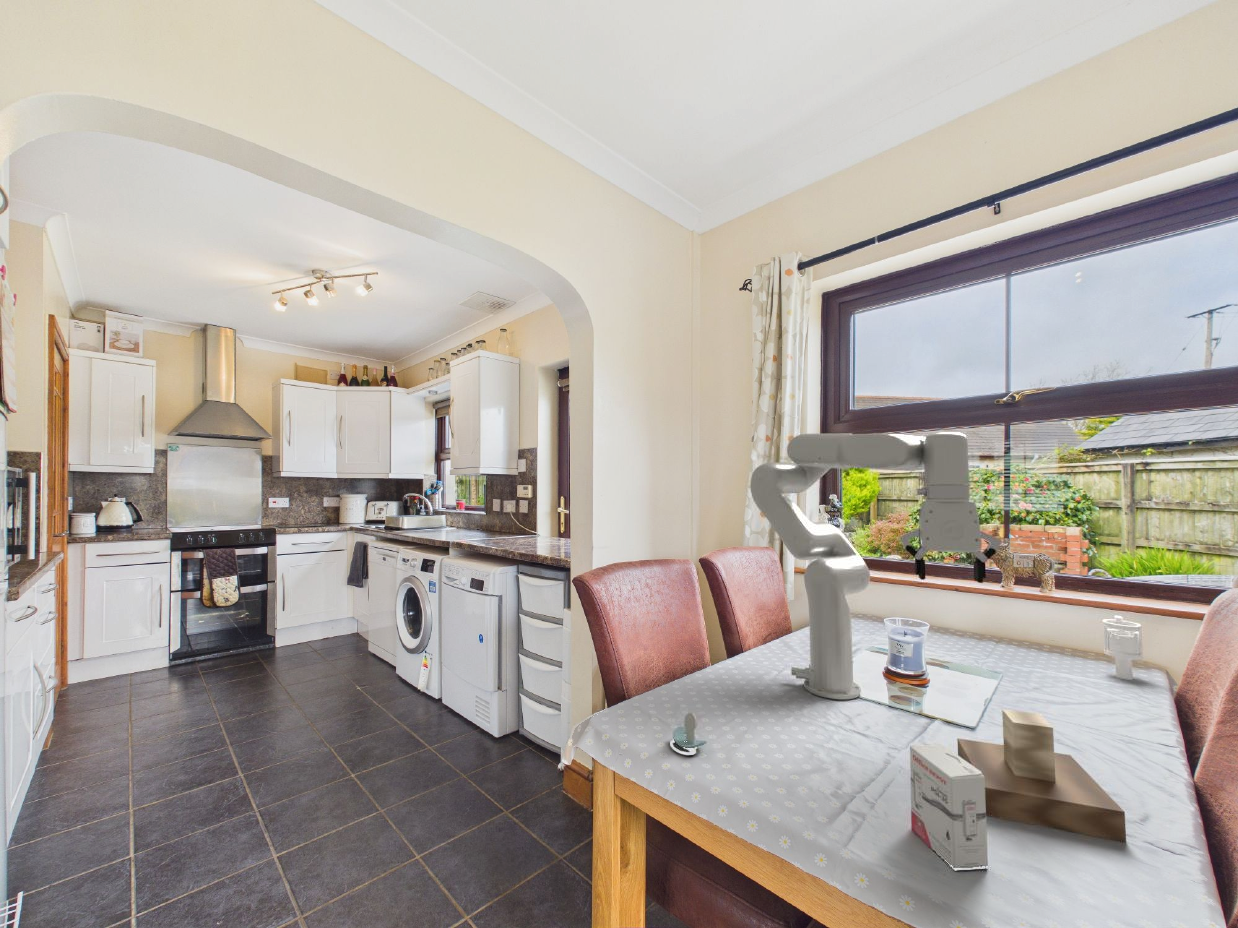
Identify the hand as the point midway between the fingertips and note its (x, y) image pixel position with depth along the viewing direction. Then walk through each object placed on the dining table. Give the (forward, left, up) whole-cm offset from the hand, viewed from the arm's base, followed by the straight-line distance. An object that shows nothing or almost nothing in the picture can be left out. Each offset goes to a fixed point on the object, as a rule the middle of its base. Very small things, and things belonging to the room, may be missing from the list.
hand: (949, 580), depth 101 cm
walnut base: (+6, -19, -30) cm, 36 cm away
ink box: (-9, -37, -30) cm, 49 cm away
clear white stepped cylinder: (+48, +51, -30) cm, 76 cm away
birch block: (+6, -19, -26) cm, 33 cm away
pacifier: (-48, -24, -31) cm, 62 cm away
